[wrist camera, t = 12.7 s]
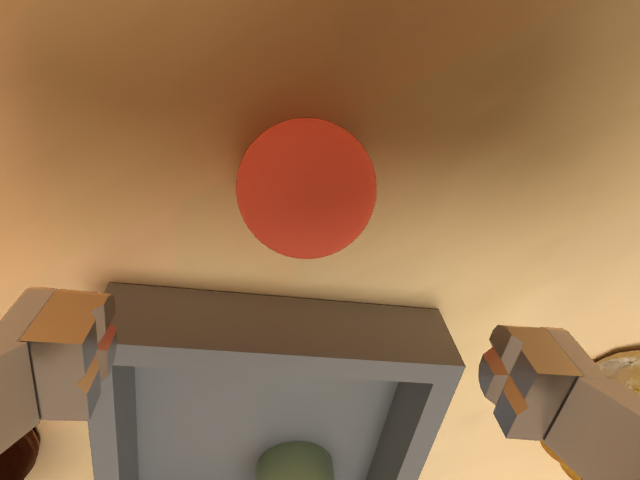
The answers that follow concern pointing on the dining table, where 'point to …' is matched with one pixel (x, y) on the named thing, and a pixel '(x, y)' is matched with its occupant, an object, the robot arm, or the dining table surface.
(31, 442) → the coffee cup
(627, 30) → the dining table surface
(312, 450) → the pale green capsule
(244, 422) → the bin
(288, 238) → the red ball
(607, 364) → the bread roll
